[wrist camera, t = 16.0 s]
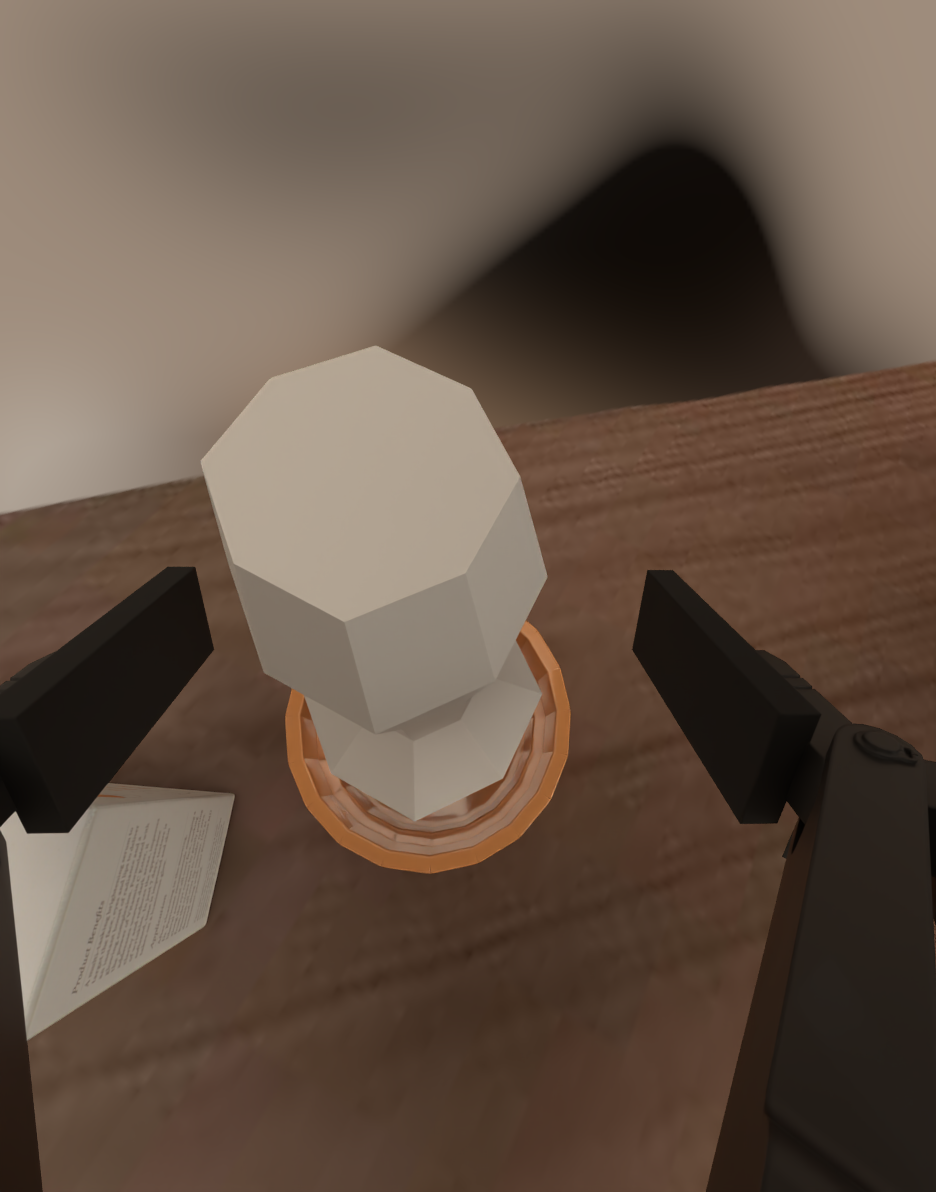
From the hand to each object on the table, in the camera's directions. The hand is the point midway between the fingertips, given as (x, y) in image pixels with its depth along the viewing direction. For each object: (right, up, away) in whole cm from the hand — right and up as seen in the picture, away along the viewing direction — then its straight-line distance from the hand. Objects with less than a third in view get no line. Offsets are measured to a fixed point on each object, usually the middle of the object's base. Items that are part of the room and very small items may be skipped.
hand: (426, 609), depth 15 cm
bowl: (0, -6, +10) cm, 12 cm away
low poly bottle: (0, -6, +10) cm, 11 cm away
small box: (-14, -11, +8) cm, 19 cm away
